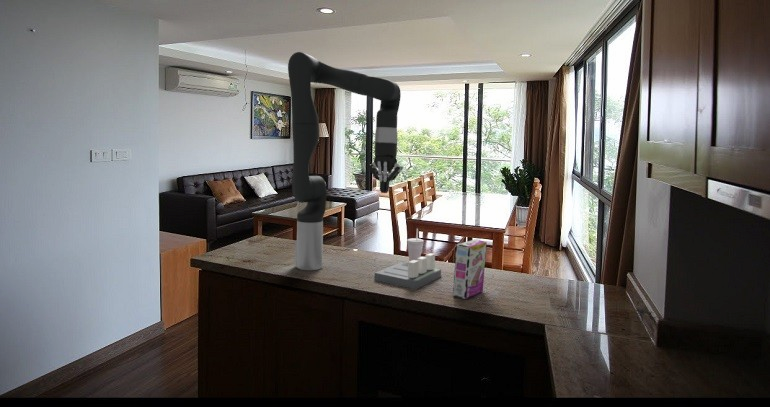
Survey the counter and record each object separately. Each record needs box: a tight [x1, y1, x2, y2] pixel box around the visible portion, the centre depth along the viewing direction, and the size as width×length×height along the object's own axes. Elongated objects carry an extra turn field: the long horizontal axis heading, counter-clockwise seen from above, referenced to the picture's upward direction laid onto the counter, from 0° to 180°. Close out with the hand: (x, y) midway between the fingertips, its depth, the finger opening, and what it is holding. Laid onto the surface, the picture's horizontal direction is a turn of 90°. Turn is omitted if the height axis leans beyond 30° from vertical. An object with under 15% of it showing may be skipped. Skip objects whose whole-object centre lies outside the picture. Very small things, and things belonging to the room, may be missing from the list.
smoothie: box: [406, 228, 425, 262], centre depth 179 cm, size 6×6×14 cm
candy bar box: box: [452, 239, 488, 300], centre depth 146 cm, size 11×5×16 cm, turn 141°
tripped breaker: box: [407, 260, 419, 278], centre depth 153 cm, size 2×4×5 cm, turn 148°
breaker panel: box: [373, 252, 442, 290], centre depth 161 cm, size 16×18×8 cm
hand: (384, 192), depth 160 cm, fingers closed
